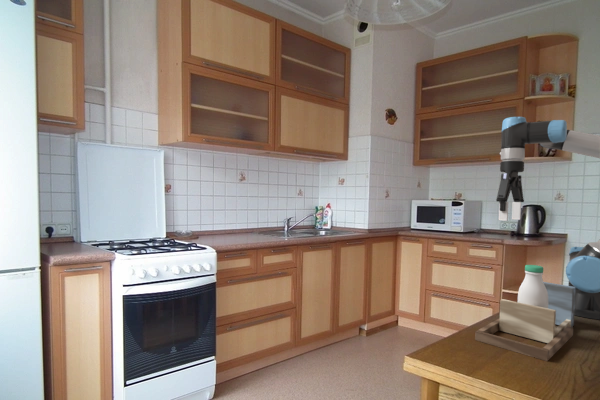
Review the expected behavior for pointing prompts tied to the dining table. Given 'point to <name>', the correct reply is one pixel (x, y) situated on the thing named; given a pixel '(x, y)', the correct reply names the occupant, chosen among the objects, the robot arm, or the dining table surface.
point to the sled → (540, 314)
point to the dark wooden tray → (533, 351)
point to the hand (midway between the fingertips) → (509, 220)
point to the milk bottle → (533, 287)
